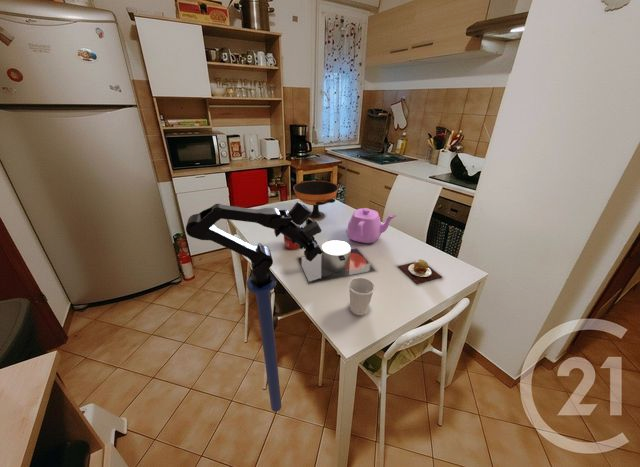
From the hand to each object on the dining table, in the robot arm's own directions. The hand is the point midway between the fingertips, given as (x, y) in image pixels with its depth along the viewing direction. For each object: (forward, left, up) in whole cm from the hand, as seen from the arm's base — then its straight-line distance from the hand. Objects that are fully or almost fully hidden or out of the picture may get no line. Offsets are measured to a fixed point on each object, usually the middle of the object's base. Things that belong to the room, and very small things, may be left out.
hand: (321, 252), depth 106 cm
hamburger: (+25, -32, -7) cm, 41 cm away
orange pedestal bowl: (+37, +37, -7) cm, 53 cm away
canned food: (+4, +21, -7) cm, 23 cm away
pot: (+5, -3, -6) cm, 9 cm away
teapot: (+35, +1, -7) cm, 35 cm away
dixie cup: (-9, -26, -7) cm, 28 cm away
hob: (+5, -3, -7) cm, 9 cm away
